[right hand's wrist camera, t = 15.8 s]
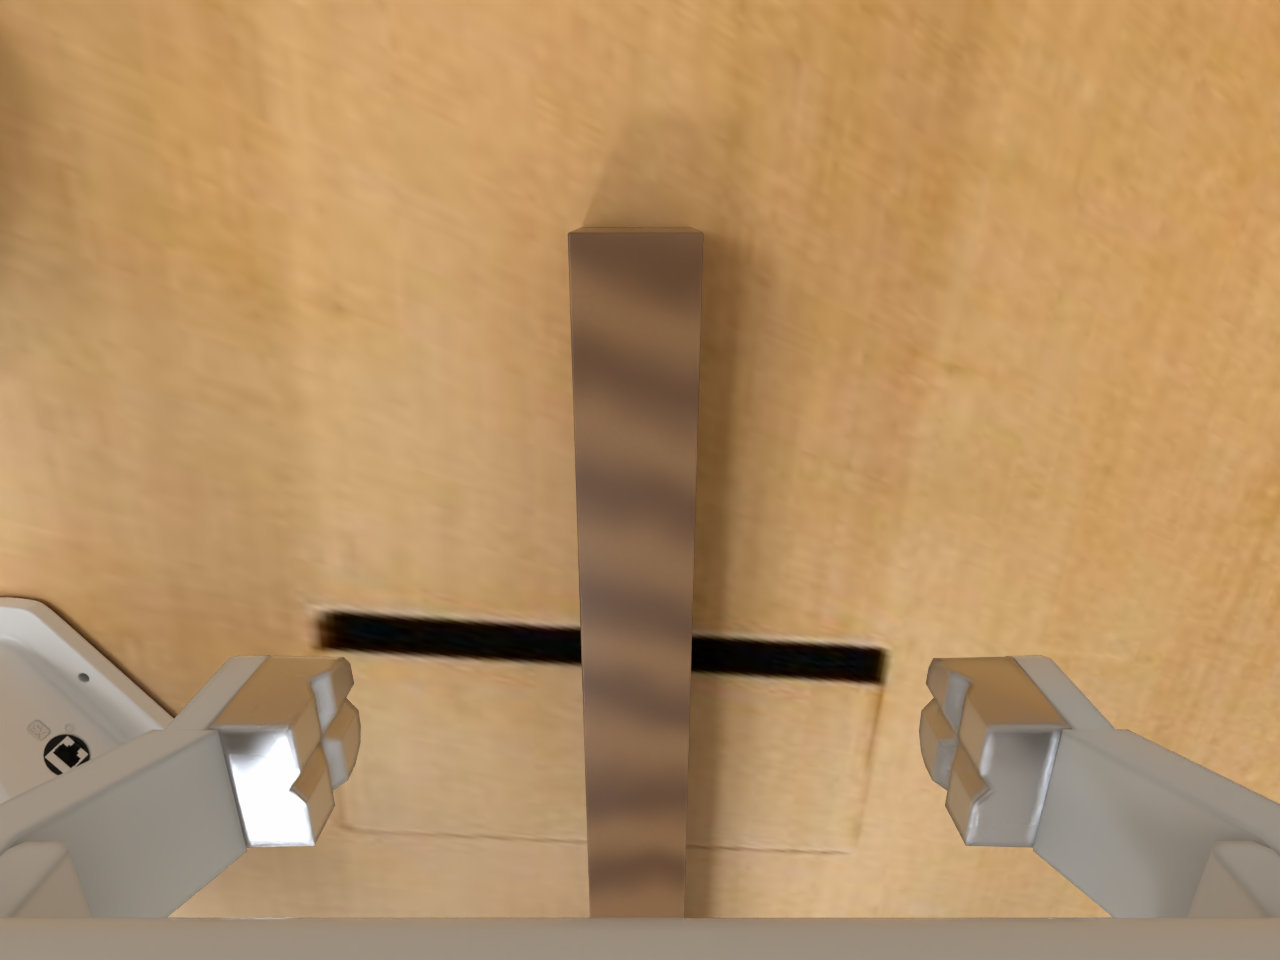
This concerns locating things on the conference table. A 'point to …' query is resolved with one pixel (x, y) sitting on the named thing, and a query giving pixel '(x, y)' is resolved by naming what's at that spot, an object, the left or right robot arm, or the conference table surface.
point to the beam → (636, 552)
